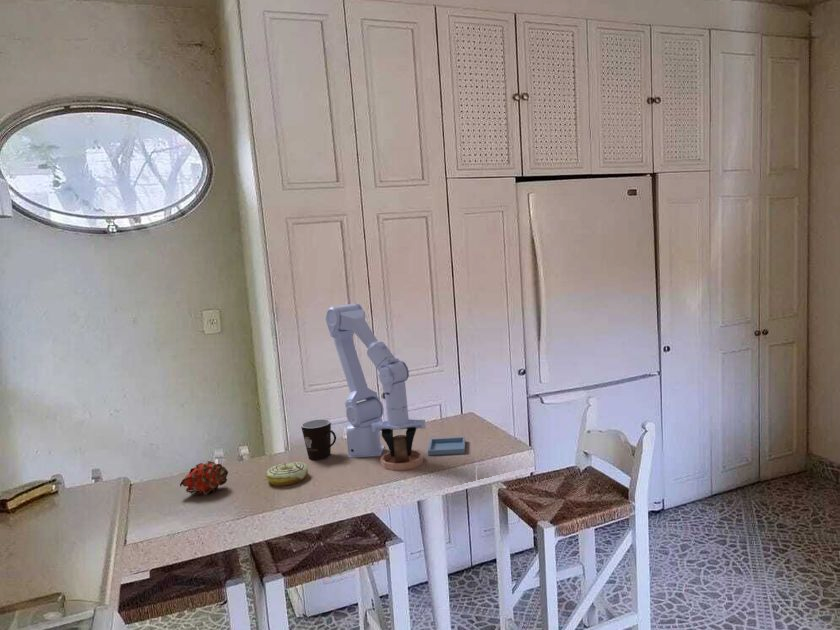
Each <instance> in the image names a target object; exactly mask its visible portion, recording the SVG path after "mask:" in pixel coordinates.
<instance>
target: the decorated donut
mask: <svg viewBox="0 0 840 630" xmlns="http://www.w3.org/2000/svg"><path fill="white" fill-rule="evenodd" d="M308 473H309V471H308V465H307V464H306V463H304V462H300V461H289V462H282V463H278V464H276V465H272V466H271V467H269V468H268V470H266V480H267V481H268V482H269V483H270V485H271V484H272V486H275V485H277V486H276V487H278V486H283V485H287V486H291V485H294V484H297V483H298V482H301V481H303V479H306V478H307V475H308ZM290 484H291V485H290Z"/></svg>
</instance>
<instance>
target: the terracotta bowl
mask: <svg viewBox="0 0 840 630" xmlns="http://www.w3.org/2000/svg"><path fill="white" fill-rule="evenodd" d="M379 461H380V466H381V467H382V468H383V469H384V470H388V471H389V470H390V471H405V470H410V469H414V468H417V467H419V466H420V465H422V464H423V462H424V453H423V452H421V451H420V450H419V449H413V448H412V453H411V456H409V462H406V463H395V458H394V457H391V453H390V451H388V452H386V453H384V454H383V455H382V454H381V457H380V460H379Z"/></svg>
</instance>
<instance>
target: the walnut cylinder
mask: <svg viewBox="0 0 840 630" xmlns="http://www.w3.org/2000/svg"><path fill="white" fill-rule="evenodd" d="M393 448H394V458H395V463H406V462H409V456H408V444H407V437H406V434H399V435H393Z"/></svg>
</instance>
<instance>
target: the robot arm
mask: <svg viewBox="0 0 840 630" xmlns="http://www.w3.org/2000/svg"><path fill="white" fill-rule="evenodd" d="M325 322H326V325H327V326H326V327H327V329H328V331H329V335H330V337H331V338H332V339H333V342H334V346H335V349H336V352H337V354H338V357H339V361H340V364H341V368H342V371H343V374H344V377H345V381H346V384H347V386H348V389H349V393H350V394H349V395H348V396H347V399H346V400H345V402H344V405H345V409H346V411H345V412H346V418H347V420H348V423H349V424H347V427H346V443H347V452H348V453H347V454H348V458H349V459H350V458H362V457H363V458H365V457H367V458H368V457H380V456H382V453H383V452H384V448H385V445H382V442H381V437H382V438H383V440H384V442H385V443H386V445H387V447H388V450H389V452H390V453H391V457H394V448H393V437H394V430H398V431H399V430H406V432H405V435H406V437H407V444H408V456H411V453H412V449H413V442H414V437H415V435H416V431H417V429H421V430H424V429H426V419H411V418H410V419H409V408H408V400H407V399H408V397H407V387H406V382H407V380H408V379H409V376H410V372H409V367H408V365H407V363H406V362H405V361H403V360H400V359H399V358H396V357H395V355H394V354H393V353H392V351H391V350H390V349H389V348H388V346H387V345H386V343H385V342H383V341H378V339H377V336H375V334H374V333H373V331H372V329H371V327H370V325H369V324H368V322H367V321H366V312H365V310H364V309H363V307H362V305H361V304H359V303H358V302H354V303H349V304H343V305H337V306H330V307H328V309H327V311H326V314H325ZM354 334H355V335H356V336H357V337H358V339H359V340H360V341H361V342H362V343H363V344H364V346H365V348H367V351H366V355H367V356H368V358H369V359H370V361H371V362H372V364H373V365H374V367H375V368H376V369H377V371H378V372H379V374H378V379H379V381H380V383H381V385H382V390H383V392H384V396H385V406H386V408H384V405H383V403H382V401H381V400H380V397H379V396H378V393H377V392H376V391H374V390H373V389H370V388H369V387H368V384H367V381H366V378H365V375H364V374H365V373H364V371H363V369H362V365H361V362H360V360H359V356H358V353H357V350H356V347H355V343H354V341H353V335H354ZM384 409H386V418H387V420H386V421H381V418H382V417H383V416H384ZM380 432H381V433H380Z"/></svg>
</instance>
